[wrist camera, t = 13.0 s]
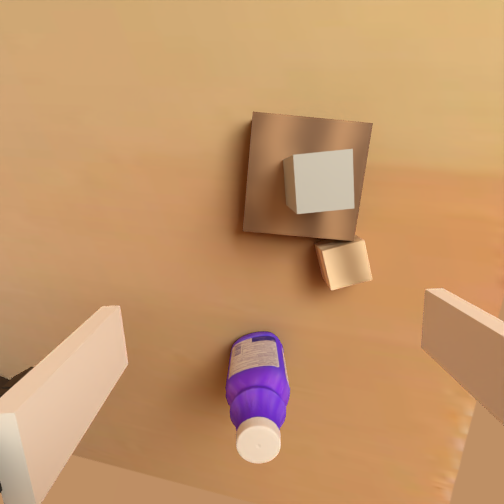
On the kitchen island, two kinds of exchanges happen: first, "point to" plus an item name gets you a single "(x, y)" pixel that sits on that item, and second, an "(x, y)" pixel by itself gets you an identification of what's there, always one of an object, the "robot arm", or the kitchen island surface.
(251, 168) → the walnut block
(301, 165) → the pale gray block
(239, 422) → the bottle
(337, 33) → the kitchen island surface
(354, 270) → the maple cube
